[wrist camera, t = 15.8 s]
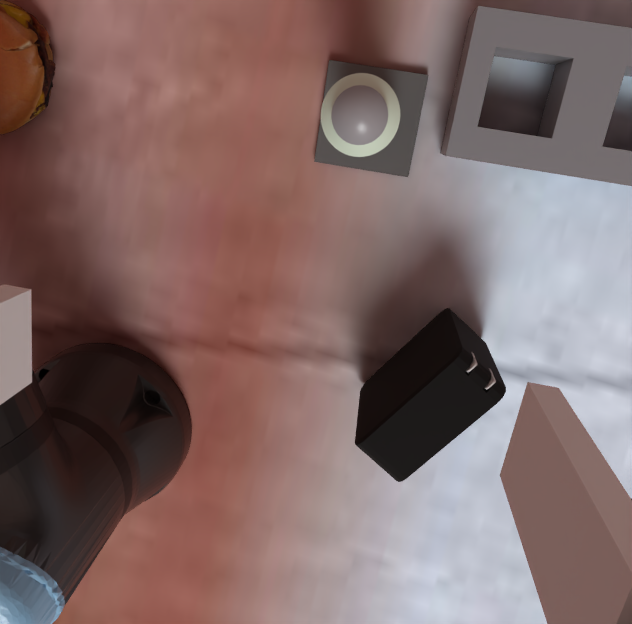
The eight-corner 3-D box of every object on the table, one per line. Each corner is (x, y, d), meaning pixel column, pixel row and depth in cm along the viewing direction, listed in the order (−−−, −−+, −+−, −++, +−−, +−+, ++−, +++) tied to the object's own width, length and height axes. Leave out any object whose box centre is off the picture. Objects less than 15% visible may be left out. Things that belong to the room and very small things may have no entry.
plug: (337, 143, 42) (314, 151, 29) (346, 85, 41) (325, 66, 28) (391, 152, 42) (392, 162, 29) (402, 93, 40) (407, 78, 28)
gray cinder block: (440, 153, 42) (445, 155, 38) (469, 17, 39) (478, 5, 35) (664, 189, 41) (693, 195, 37) (711, 52, 38) (747, 44, 34)
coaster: (315, 161, 43) (314, 161, 43) (330, 60, 41) (329, 59, 40) (407, 176, 43) (408, 177, 42) (427, 75, 40) (428, 75, 40)
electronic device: (360, 385, 48) (353, 448, 39) (447, 304, 45) (463, 351, 36) (395, 417, 49) (397, 487, 39) (484, 339, 46) (509, 394, 36)
